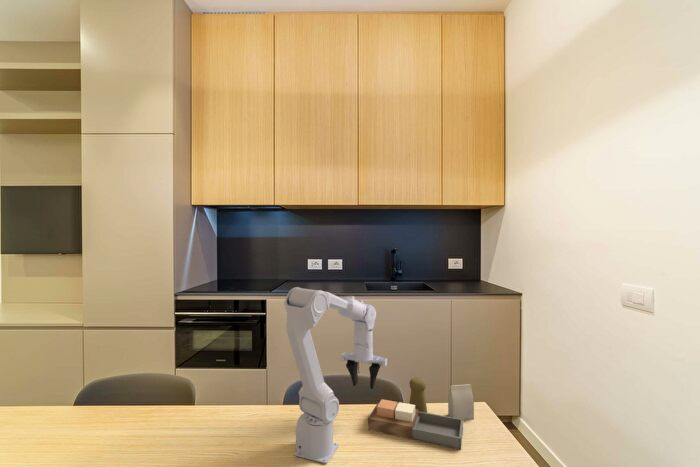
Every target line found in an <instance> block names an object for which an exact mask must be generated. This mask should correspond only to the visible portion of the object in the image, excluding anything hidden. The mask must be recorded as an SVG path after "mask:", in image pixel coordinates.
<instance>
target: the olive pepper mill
mask: <svg viewBox="0 0 700 467" xmlns="http://www.w3.org/2000/svg"><path fill="white" fill-rule="evenodd" d="M409 388H410V397H409V404H412V405H415V409H418V410H419V411H420V412H425V413H428V407H427V399H426V393H425V391H426V388H427V382H426V381H425V379H424V378H421V377H416V376H415V377H411V379H410V380H409Z"/></svg>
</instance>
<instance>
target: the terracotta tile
mask: <svg viewBox="0 0 700 467" xmlns="http://www.w3.org/2000/svg"><path fill="white" fill-rule="evenodd" d="M397 405H398V401H393V400H387V399H380V401H379V404H378V406H377V415H379V416H384V417H389V418H394V416H395V409H396V407H397Z"/></svg>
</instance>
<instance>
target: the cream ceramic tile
mask: <svg viewBox="0 0 700 467" xmlns="http://www.w3.org/2000/svg"><path fill="white" fill-rule="evenodd" d="M414 416H415V405H412V404H410V403H404V402H400V401H399V402H397V407H396V409H395V419H399V420H404V421H410V422H412V421H413V418H414Z"/></svg>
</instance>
